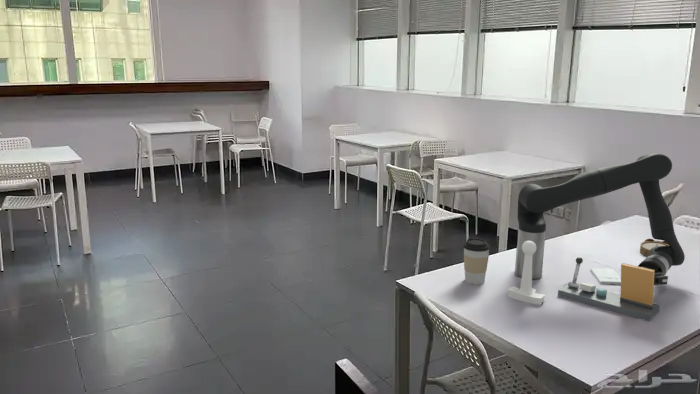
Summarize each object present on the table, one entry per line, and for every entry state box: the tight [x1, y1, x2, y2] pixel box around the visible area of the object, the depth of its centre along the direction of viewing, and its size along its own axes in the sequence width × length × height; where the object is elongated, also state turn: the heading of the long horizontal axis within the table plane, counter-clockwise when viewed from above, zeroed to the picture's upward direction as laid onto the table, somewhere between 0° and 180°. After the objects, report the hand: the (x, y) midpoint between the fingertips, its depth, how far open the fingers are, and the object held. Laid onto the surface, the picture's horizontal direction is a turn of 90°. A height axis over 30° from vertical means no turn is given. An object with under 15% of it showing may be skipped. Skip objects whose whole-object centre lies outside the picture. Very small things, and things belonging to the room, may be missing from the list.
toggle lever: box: [567, 256, 584, 289], centre depth 184 cm, size 3×2×10 cm
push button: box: [596, 287, 608, 297], centre depth 178 cm, size 3×3×2 cm
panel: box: [557, 280, 661, 322], centre depth 177 cm, size 28×10×2 cm, turn 47°
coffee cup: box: [462, 237, 490, 285], centre depth 194 cm, size 9×9×15 cm
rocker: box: [579, 282, 597, 292], centre depth 181 cm, size 4×4×2 cm
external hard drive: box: [589, 267, 621, 286], centre depth 198 cm, size 2×8×12 cm
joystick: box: [507, 241, 546, 306], centre depth 179 cm, size 11×8×20 cm
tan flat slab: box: [620, 262, 655, 309], centre depth 169 cm, size 9×2×14 cm, turn 47°
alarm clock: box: [639, 238, 669, 257], centre depth 224 cm, size 11×5×15 cm
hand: (637, 283), depth 169 cm, fingers closed
